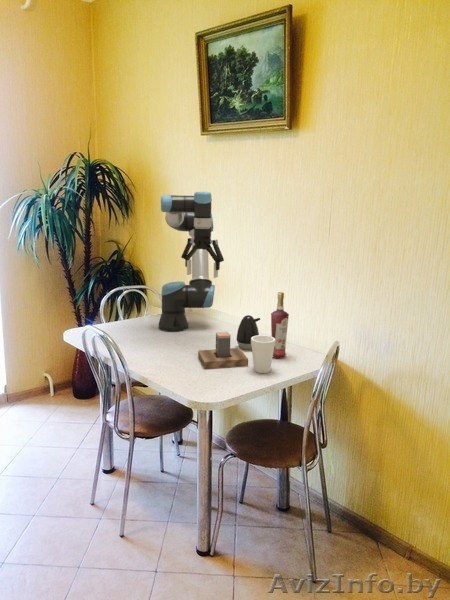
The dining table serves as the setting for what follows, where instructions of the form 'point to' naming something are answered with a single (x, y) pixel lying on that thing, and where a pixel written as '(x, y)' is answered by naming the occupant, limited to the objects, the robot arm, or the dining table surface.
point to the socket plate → (222, 359)
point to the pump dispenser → (247, 332)
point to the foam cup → (262, 352)
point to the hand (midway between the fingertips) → (202, 275)
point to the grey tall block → (222, 344)
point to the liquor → (279, 327)
